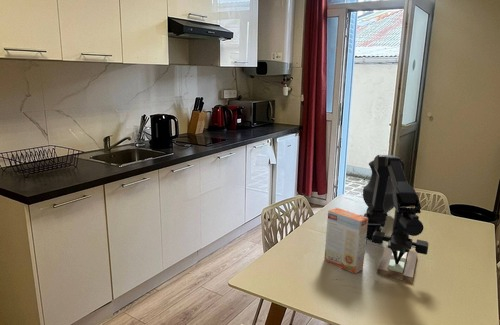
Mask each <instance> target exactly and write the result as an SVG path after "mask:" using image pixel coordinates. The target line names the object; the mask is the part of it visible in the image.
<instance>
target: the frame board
mask: <svg viewBox="0 0 500 325" xmlns="http://www.w3.org/2000/svg"><path fill="white" fill-rule="evenodd" d="M391 255H392V250H391V249H390V248H388V244H387V245H385V248H384V250H383V252H382V256H381V258H380V261H379V264H378V266H377V268H376V269H377V270H376V271H377V272H376V274H378V275H382V276H386V277H390V278H393V279H397V280H402V281H405V282H409V283H413V279H414V274H415V269H416V265H417V264H416V263H417V258H418V253H417V252H416V251H414V250H410V251H409V252H408V254H407V257H406V262H405V265H404V270H403V273H400V272H396V271H392V270H388V266H389V262H390V259H391Z"/></svg>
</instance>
